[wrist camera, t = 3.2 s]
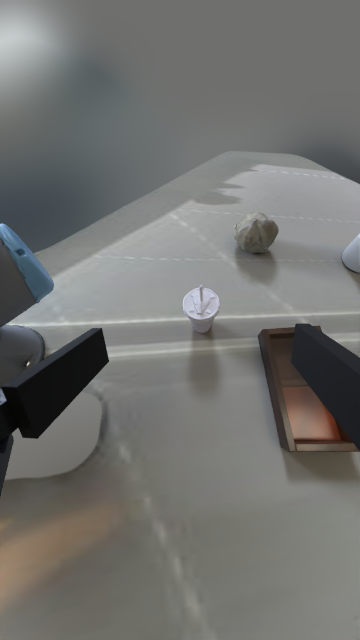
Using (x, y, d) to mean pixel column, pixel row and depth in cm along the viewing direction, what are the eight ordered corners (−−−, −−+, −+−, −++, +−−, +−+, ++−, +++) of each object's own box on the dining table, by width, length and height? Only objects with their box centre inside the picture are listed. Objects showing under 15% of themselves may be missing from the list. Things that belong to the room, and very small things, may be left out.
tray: (280, 447, 31) (289, 451, 27) (257, 335, 39) (262, 329, 35) (347, 446, 30) (365, 451, 26) (310, 332, 38) (319, 325, 34)
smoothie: (218, 313, 42) (224, 272, 29) (215, 341, 39) (220, 310, 27) (189, 310, 43) (183, 270, 30) (184, 337, 40) (175, 305, 28)
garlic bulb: (266, 256, 49) (295, 230, 40) (240, 267, 47) (264, 242, 38) (248, 226, 50) (272, 194, 41) (222, 235, 48) (241, 204, 39)
